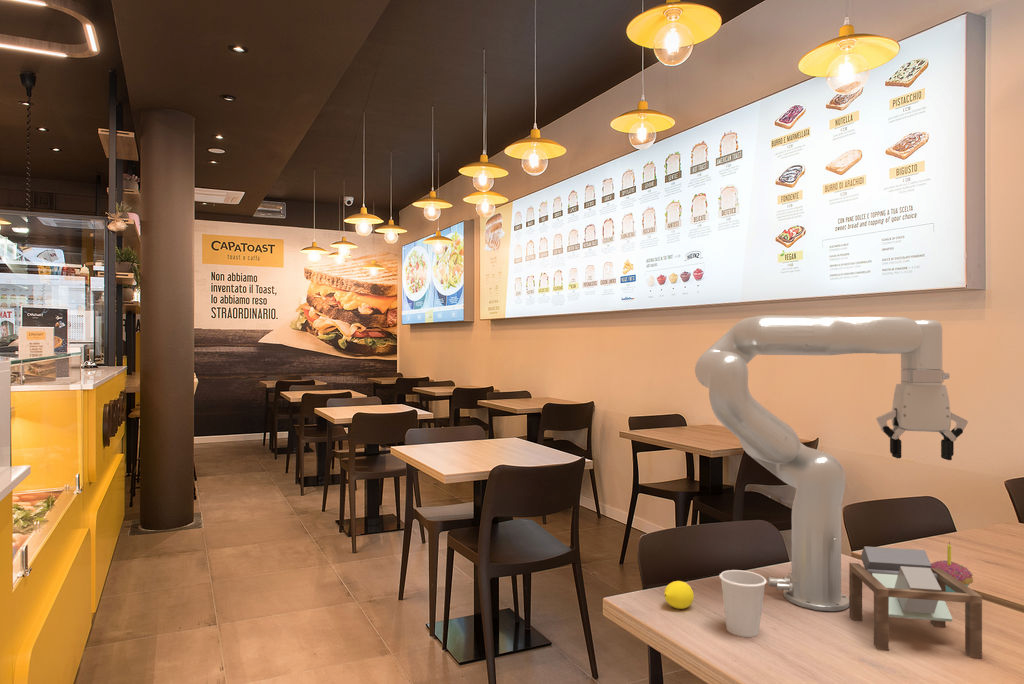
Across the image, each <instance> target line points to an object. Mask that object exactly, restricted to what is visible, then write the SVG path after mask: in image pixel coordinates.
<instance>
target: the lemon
mask: <svg viewBox="0 0 1024 684" xmlns="http://www.w3.org/2000/svg"><path fill="white" fill-rule="evenodd" d="M663 594H664V598H665V602H666V603H667V604H668V605H669V606H670V607H671V608H674V609H678V610H684V609H686V608H689V607H690V606H691V605H692V603H693V600H694V598H695V596H694V595H695V594H694V591H693V589H692V587H691V585H689V584H688V583H687V582H685V581H681V580H676V581H672V582H670V583H668V584H667V586H666V587H665V588H664V593H663Z"/></svg>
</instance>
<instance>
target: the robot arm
mask: <svg viewBox="0 0 1024 684" xmlns="http://www.w3.org/2000/svg"><path fill="white" fill-rule="evenodd" d="M849 354H877V355H891V354H893V355H894V354H898V355H899V354H900V383H896V384H895V387H894V394H893V399H892V408H891V410H890V411H888V412H886V413H884V414H881V415H879V416H877V417H876V419H875V420H876V422H877V424H878V426H879V428H880V430H881V431H882V432H883V434H885V435H886V436H887V437H888V438H889V453H890V454H891V456H892V457H893V458H895V459H901V458H902V440H901V439H900V437H901V436H902V435H903V434H904V433H905V431H906V432H931V433H935V432H936V433H939V434H940V436H942V437H943V439H941V441H940V457H941V459H943V460H947V461H952V459H953V458H952V457H954V454H955V453H954V452H955V451H954V447H955V446H954V442H955V441H957V438H958V437H960V436H961V435H962V434H963V433H964V430H965V428H966V427H967V425H968V423H969V420H967V419H965V418H963V417H962V416H959V415H958V414H954V413H953V412H951V404H950V399H949V398H950V397H949V394H948V389H947V386H946V384H943V383H944V380H949V379H950V372H945V371H944V369H943V326H942V323H941V322H940V321H939V320H935V319H912V318H909V317H905V316H843V315H842V316H840V315H783V314H782V315H777V314H776V315H774V314H773V315H771V314H770V315H769V314H767V315H756V316H751V317H746V318H744V319H741V320H740V321H738V322H737V323H736V324H735V325H734V326H733V327H731V328H730V329H729V330H728V331H727V332H725V334H723V336H721V337H720V338H719V339H718V340H717V341H715V343H714V344H712V345H711V346H710V347H709V348H708V349H707V350H706V351H705V352H703V353H702V354H701V355H700V356H699V358H698V359H697V361H696V363H695V367H694V373H695V374H694V375H695V377H696V379H697V381H698V382H699V384H700V385H702V386H704V387H705V388H708V397H709V403H710V407H711V409H712V412H713V414H714V416H715V418H716V419H717V420H718V422H719V423H721V424H722V426H724V427H725V428H726V429H727V430H728V431H730V433H732V434H733V435H734V436H735V437H736V438H738V441H739V444H740V446H741V447H742V449H743V451H745V453H746V454H747V455H748V456H749V457H751V458H752V459H753V460H754V461H755V462H757V463H758V464H760V465H761V466H762V467H764V468H765V469H766V470H767V471H769V472H770V473H771V474H773V475H774V476H775V477H777V478H778V479H779V480H781V481H782V482H783V483H785V484H787V485H789V486H790V487H793V488H795V494H794V499H793V503H792V506H791V507H792V508H791V572H787V576H782V577H775V576H774V577H773V576H768V577H767V585H768V587H776V590H779V591H780V590H783V597H784V598H785V600H787V601H788V602H790V603H791V604H794V605H796V606H799V607H802V608H806V609H808V610H809V609H810V610H814V611H822V612H839V611H844V610H846V609H848V608H849V597H848V596H847V595H846V594H844V593H842V508H843V506H842V505H843V500H844V495H845V490H846V482H847V477H846V472H845V469H844V467H843V465H842V463H841V462H840V461H839V460H838V459H837V457H835V456H833V455H832V454H831V453H828V452H825V451H823V450H819V449H816V448H812V447H809V446H806V445H804V443H802V442H801V441H800V437H799V435H798V434H797V432H796V431H795V429H794V428H793V427H791V426H790V425H789V424H788V423H787V422H785V421H783V420H782V419H780V418H779V417H778V416H776V415H775V414H774V413H772V412H770V410H768V409H767V408H765V407H764V406H763V405H762V404H761V403H760V402H759V401H757V400H756V399H755V398H754V397H753V395H752V394H751V392H750V388H749V368H748V364H749V363H750V362H751V361H752V360H753V359H754V358H755V357H756V356H757V355H758V356H761V355H762V356H838V355H849ZM889 420H891V425H892V427H893V428H891V427H890V426H889V425H888V423H887V422H888V421H889ZM952 421H953V422H954V423H956V425H955V427H954V428H953V429H951V424H952V423H951V422H952Z"/></svg>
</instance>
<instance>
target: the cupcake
mask: <svg viewBox="0 0 1024 684" xmlns="http://www.w3.org/2000/svg"><path fill="white" fill-rule="evenodd" d="M931 568H937V569H942V570H944V571H945V572H947V573H948V574H950V575H951V576H953V577H954V578H955V579H957V580H958V581H960V582H961V583H963V584H964V585H966V586H967V587H969V585H970V584H973V583H974V577H973V576H974V575H973V573H972V572H971V571H970V570H969V569H968V568H967V567H965V566H964V565H961V564H959V563H958V562H955V561H952V545H951V542H950V541H949V542H948V544H947V560H937V561H934V562H932V563H931ZM931 568H930V569H931ZM946 592H955V591H953V590H952V589H951V588H949V587H948V586H947V585H946ZM955 593H956V592H955Z"/></svg>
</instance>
